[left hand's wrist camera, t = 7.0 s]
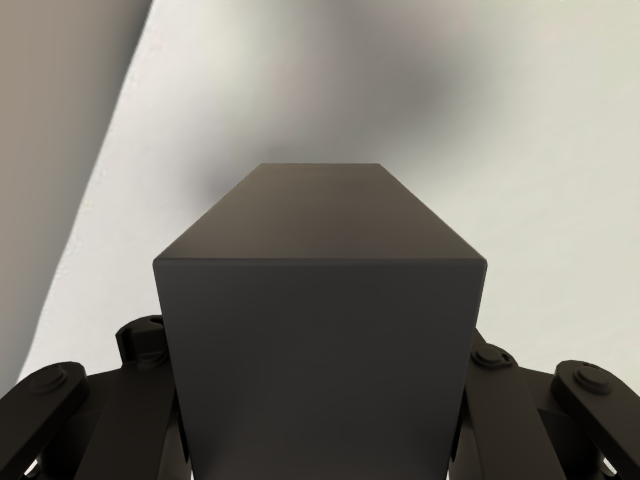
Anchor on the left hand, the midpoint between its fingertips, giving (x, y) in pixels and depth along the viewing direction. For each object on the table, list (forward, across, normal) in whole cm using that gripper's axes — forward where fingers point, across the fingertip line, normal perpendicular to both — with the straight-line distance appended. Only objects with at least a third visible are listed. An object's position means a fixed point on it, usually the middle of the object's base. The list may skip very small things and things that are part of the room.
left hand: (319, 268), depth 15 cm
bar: (+1, 0, -7) cm, 7 cm away
